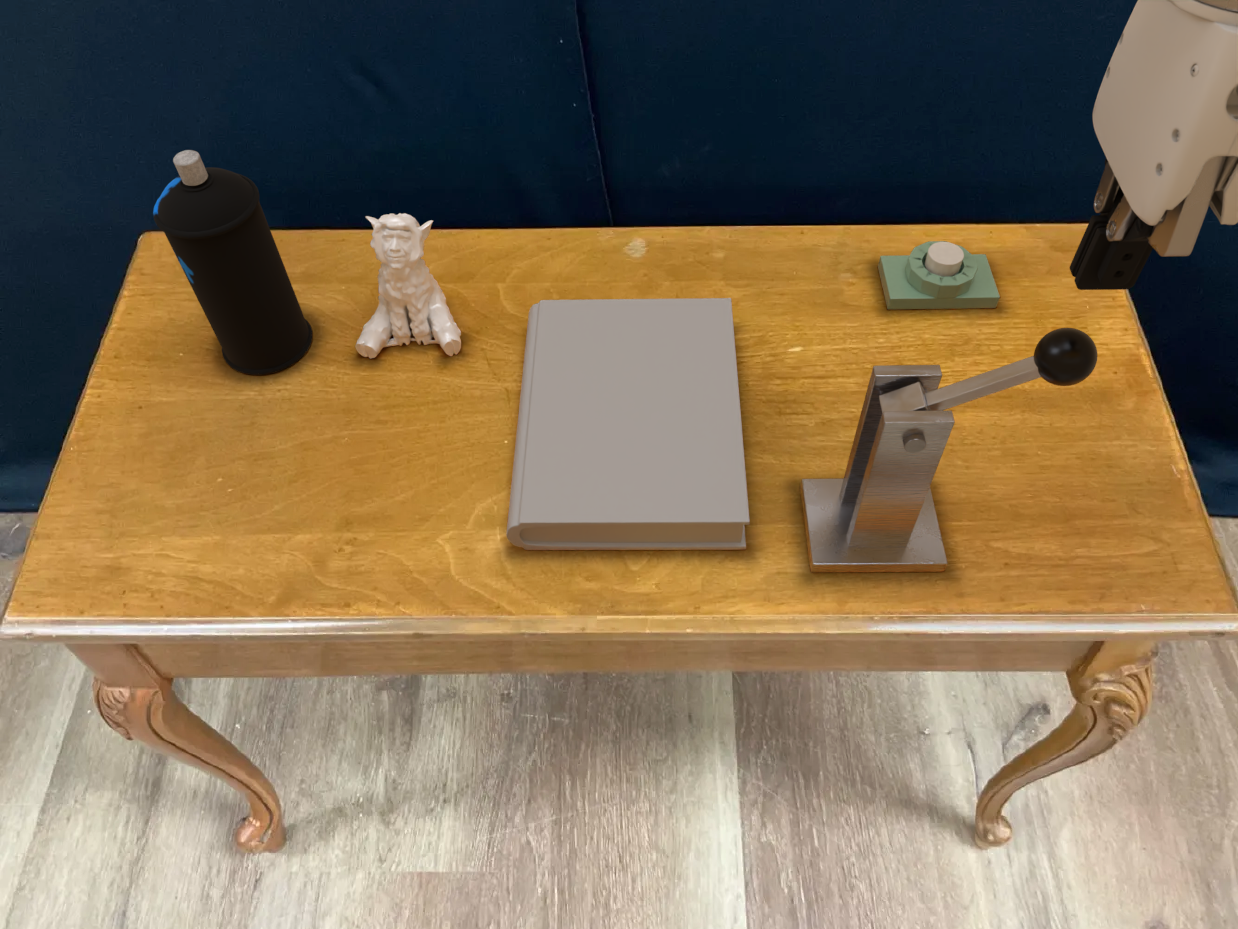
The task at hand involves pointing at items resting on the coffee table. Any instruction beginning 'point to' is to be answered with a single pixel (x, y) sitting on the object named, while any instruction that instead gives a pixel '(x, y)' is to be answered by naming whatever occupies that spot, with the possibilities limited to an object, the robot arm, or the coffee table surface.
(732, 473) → the book
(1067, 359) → the lever with ball knob
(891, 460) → the lever stand
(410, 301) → the sitting furry creature
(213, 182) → the aerosol can
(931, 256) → the beige push button
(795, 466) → the coffee table surface
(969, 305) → the green push button base
